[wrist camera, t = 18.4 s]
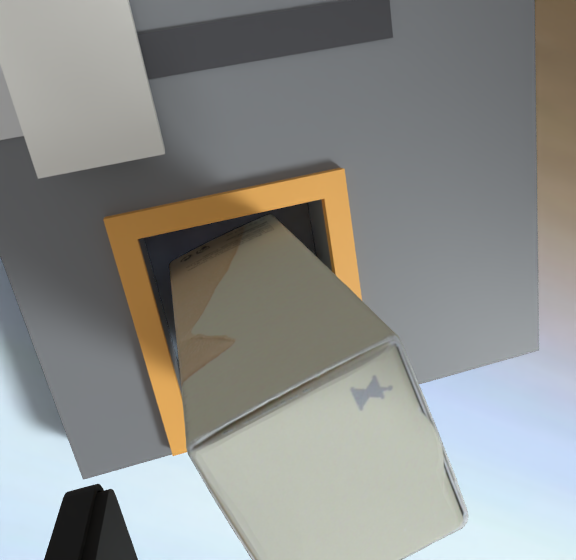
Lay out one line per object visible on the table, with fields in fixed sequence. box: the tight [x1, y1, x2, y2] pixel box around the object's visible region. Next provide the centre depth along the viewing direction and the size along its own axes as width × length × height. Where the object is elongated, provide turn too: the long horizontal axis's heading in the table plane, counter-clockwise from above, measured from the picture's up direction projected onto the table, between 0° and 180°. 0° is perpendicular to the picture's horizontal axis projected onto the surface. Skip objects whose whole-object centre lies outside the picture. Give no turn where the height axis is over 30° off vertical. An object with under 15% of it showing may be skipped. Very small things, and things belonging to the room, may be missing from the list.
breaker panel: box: [0, 0, 539, 479], centre depth 18 cm, size 18×16×2 cm
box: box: [169, 214, 468, 560], centre depth 15 cm, size 5×4×11 cm
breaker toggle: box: [0, 0, 165, 179], centre depth 13 cm, size 3×5×3 cm, turn 10°
